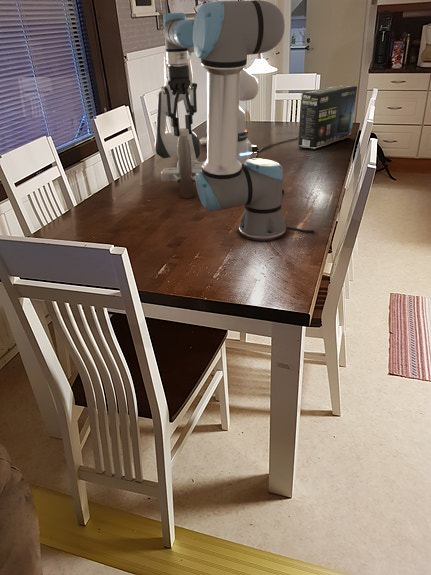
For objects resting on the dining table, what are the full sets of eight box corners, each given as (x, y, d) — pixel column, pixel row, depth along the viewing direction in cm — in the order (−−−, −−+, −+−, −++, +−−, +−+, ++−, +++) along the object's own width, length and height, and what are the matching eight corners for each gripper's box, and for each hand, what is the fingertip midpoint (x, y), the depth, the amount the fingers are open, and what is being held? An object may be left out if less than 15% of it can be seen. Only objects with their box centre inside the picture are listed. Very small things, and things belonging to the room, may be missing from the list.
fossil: (223, 141, 238) (204, 123, 241) (212, 159, 245) (194, 141, 248) (240, 140, 252) (222, 123, 255) (230, 156, 258) (212, 139, 262)
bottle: (194, 194, 183) (190, 129, 171) (191, 198, 179) (187, 132, 166) (182, 193, 184) (177, 129, 171) (179, 198, 180) (174, 132, 167)
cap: (174, 135, 168) (174, 130, 168) (179, 133, 172) (179, 128, 171) (185, 136, 167) (185, 131, 166) (190, 133, 171) (190, 128, 170)
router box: (314, 151, 231) (318, 94, 217) (296, 148, 237) (299, 92, 224) (352, 138, 251) (358, 85, 238) (335, 135, 258) (340, 83, 245)
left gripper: (161, 163, 188) (158, 173, 176) (211, 161, 188) (211, 171, 176) (162, 178, 191) (160, 189, 179) (211, 176, 191) (212, 187, 179)
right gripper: (160, 68, 151) (166, 140, 163) (205, 63, 159) (208, 132, 171) (150, 66, 156) (157, 136, 168) (194, 62, 164) (197, 129, 176)
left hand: (186, 180), depth 178 cm, fingers closed on bottle, 5 cm apart
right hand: (182, 134), depth 170 cm, fingers closed on cap, 4 cm apart
